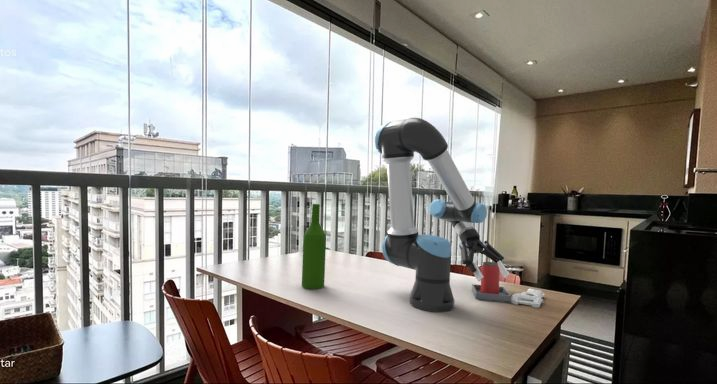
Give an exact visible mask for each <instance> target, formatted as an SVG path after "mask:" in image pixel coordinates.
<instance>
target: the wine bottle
mask: <svg viewBox="0 0 717 384" xmlns="http://www.w3.org/2000/svg"><path fill="white" fill-rule="evenodd" d="M320 208H321V204H319V203H312V204H311V223H310V224H309V226H308V227H307V229H306V230H305V231H304V235H303V240H302V241H303V243H302V265H301V266H302V267H301V270H302V271H301V286H302V288H304V289H307V290H319V289H322V288H324V287H325V279H326V278H325V277H326V276H325V275H326V272H325V271H326V251H327V250H326V249H327V248H326V245H327V237H326V236H327V235H326V232H325V231H324V229H323V227H322V226H321V224H320V215H321V214H320V212H321V211H320V210H321V209H320Z"/></svg>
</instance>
